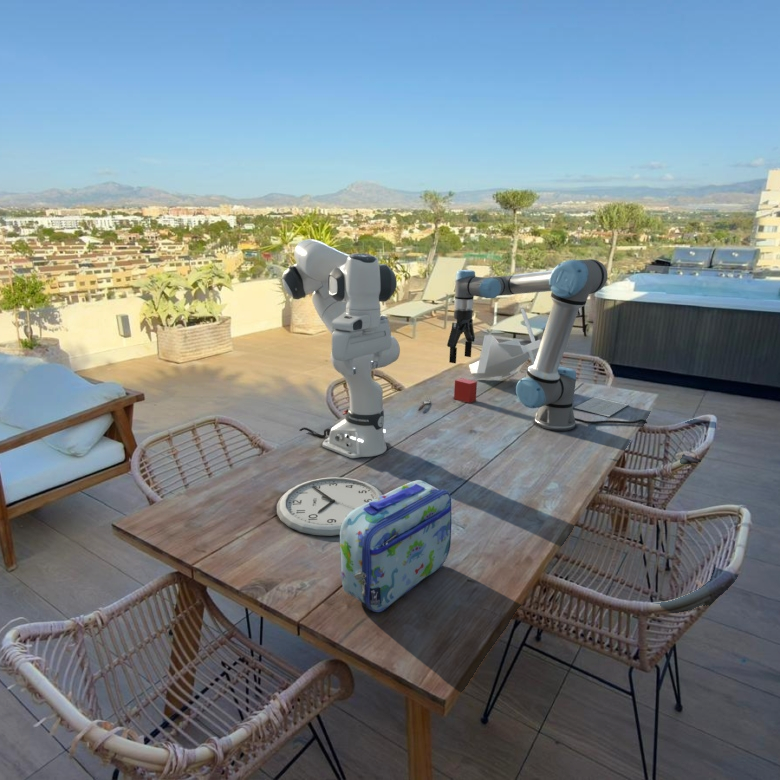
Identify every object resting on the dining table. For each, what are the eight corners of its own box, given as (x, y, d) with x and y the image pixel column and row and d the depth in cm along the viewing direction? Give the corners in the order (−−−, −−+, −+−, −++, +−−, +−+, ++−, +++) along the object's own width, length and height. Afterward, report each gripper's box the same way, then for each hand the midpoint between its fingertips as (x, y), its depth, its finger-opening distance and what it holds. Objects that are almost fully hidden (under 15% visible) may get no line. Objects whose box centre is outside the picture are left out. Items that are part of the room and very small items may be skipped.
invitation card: (608, 416, 214) (573, 407, 224) (608, 416, 214) (573, 408, 224) (628, 404, 229) (594, 396, 238) (628, 405, 229) (594, 397, 238)
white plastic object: (490, 421, 263) (470, 398, 238) (471, 347, 285) (451, 320, 260) (562, 397, 251) (549, 370, 226) (536, 322, 273) (522, 290, 248)
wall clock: (392, 527, 129) (268, 531, 127) (391, 533, 130) (269, 537, 127) (383, 473, 158) (282, 475, 155) (383, 478, 158) (282, 480, 156)
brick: (460, 396, 237) (461, 377, 235) (475, 400, 232) (477, 381, 229) (453, 398, 233) (454, 380, 231) (468, 403, 228) (470, 384, 226)
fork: (415, 411, 216) (415, 406, 216) (426, 400, 231) (426, 395, 230) (421, 412, 216) (421, 407, 215) (432, 400, 230) (432, 396, 229)
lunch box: (369, 626, 100) (370, 530, 93) (334, 598, 107) (332, 507, 101) (455, 567, 117) (460, 483, 111) (419, 547, 124) (423, 467, 118)
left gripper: (379, 313, 144) (378, 362, 148) (326, 322, 128) (328, 376, 132) (397, 315, 140) (396, 365, 144) (345, 325, 125) (346, 381, 129)
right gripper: (468, 304, 225) (465, 352, 231) (440, 311, 205) (437, 364, 212) (485, 306, 221) (481, 355, 227) (457, 313, 201) (454, 367, 208)
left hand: (363, 371), depth 138 cm, fingers open, 8 cm apart
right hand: (460, 359), depth 219 cm, fingers open, 13 cm apart
